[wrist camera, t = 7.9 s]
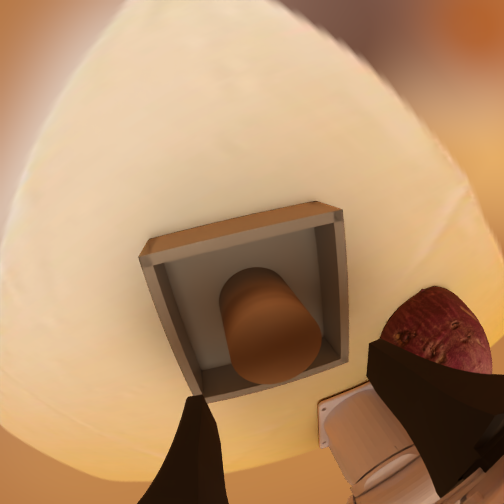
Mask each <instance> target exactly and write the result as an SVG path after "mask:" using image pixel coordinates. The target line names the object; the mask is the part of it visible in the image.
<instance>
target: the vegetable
mask: <svg viewBox="0 0 504 504" xmlns="http://www.w3.org/2000/svg"><path fill="white" fill-rule="evenodd" d="M381 339H383V340H385V341H387V342H390V343H392V344H394V345H396V346H398V347H400V348H402V349H404V350H407V351H409V352H411V353H413V354H416V355H418V356H420V357H423V358H425V359H428V360H430V361H433V362H436V363H438V364H441V365H444V366H448V367H451V368H455V369H459V370H463V371H468V372H475V373H482V374H492V358H491V351H490V347H489V342H488V340H487V337H486V334H485V332H484V329H483V327H482V326H481V324H480V323H479V321H478V319H477V318H476V316H475V315H474V314H473V313H472V311H471V310H470V309H469V308H468V307H467V306H466V304H465V303H464V302H463V301H462V300H461V299H460V298H459V297H458V296H456V295H455V294H454V293H452V292H451V291H449V290H447V289H445V288H441V287H436V286H433V287H430V288H427V289H422V290H421V291H420V292H419V293H417V294H416V295H415V296H413V297H412V298H410V299H409V300H408V301H406V302H405V303H404V304H403V305H402V306H400V307H399V308H398V309H397V311H396V312H395V313H394V314H393V315H392V317H391V318H390V319H389V321H388V322H387V324H386V326H385V327H384V329H383V332H382V335H381Z"/></svg>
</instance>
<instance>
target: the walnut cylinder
mask: <svg viewBox="0 0 504 504" xmlns="http://www.w3.org/2000/svg"><path fill="white" fill-rule="evenodd" d="M219 307H220V312H221V317H222V322H223V327H224V332H225V336H226V341H227V346H228V350H229V355H230V359H231V363H232V366H233V367H234V369H235V371H236V372H237V373H238V374H239V375H240V376H241V377H243V378H244V379H246V380H248V381H250V382H253V383H258V384H276V383H281V382H284V381H287V380H290V379H292V378H294V377H296V376H297V375H299V374H300V373H302V372H303V371H304V370H306V369H307V368H308V367H309V366H310V365H311V364H312V362H313V361H314V360H315V358H316V357H317V355H318V353H319V350H320V347H321V342H322V335H321V330H320V327H319V325H318V324H317V322H316V321H315V319H314V318H313V317H312V316H311V314H310V313H309V312H308V310H307V309H306V308H305V307H304V305H303V304H302V303H301V301H300V300H299V299H298V298H297V296H296V295H295V294H294V292H293V291H292V290H291V289H290V287H289V286H288V285H287V283H286V282H285V281H284V280H283V278H282V277H281V276H280V275H279V274H277V273H276V272H274V271H273V270H270V269H267V268H263V267H252V268H247V269H244V270H241V271H239V272H237V273H236V274H234V275H233V276H232V277H230V278H229V279H228V280H227V282H226V283H225V284H224V286H223V288H222V290H221V293H220V296H219Z"/></svg>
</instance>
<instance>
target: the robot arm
mask: <svg viewBox="0 0 504 504" xmlns="http://www.w3.org/2000/svg"><path fill="white" fill-rule="evenodd" d="M366 376H367V378H368V379H369V381H370V382H368V383H365V384H363V385H361V386H359V387H356V388H354V389H351V390H349V391H347V392H344V393H342V394H339V395H337V396H334V397H332V398H329V399H326V400H324V401H321V402H320V403H319V404H318V420H319V446H320V448H321V449H323V448H326V447H329V448H330V450H331V452H332V454H333V456H334V458H335V460H336V461H337V463H338V465H339V467H340V469H341V471H342V473H343V475H344V477H345V479H346V480H347V482H348V483H349V484H351V485H352V487H350V489H351V491H352V493H353V495H351V496H350V497H349V498H348V501H347V504H504V375H497V374H482V373H475V372H468V371H463V370H459V369H455V368H451V367H448V366H444V365H441V364H438V363H436V362H433V361H430V360H428V359H425V358H423V357H420V356H418V355H416V354H413V353H411V352H409V351H407V350H404V349H402V348H400V347H398V346H396V345H394V344H392V343H390V342H387V341H385V340H383V339H378V340H376V341H374V342H371V343H369V352H368V364H367V375H366ZM137 504H229V503H228V499H227V495H226V489H225V481H224V472H223V462H222V452H221V443H220V438H219V433H218V429H217V424H216V421H215V419H214V417H213V415H212V413H211V411H210V409H209V407H208V405H207V403H206V400H205V398H204V396H203V394H201V395H196V396H190V397H188V398H187V399H186V403H185V407H184V410H183V414H182V417H181V420H180V423H179V426H178V429H177V432H176V434H175V437H174V440H173V442H172V445H171V447H170V449H169V452H168V454H167V456H166V458H165V460H164V462H163V464H162V466H161V468H160V470H159V472H158V474H157V475H156V477H155V479H154V480H153V482H152V484H151V485H150V487H149V488H148V490H147V491H146V493H145V494H144V495H143V497H142V498H141V499H140V501H139V502H138V503H137Z"/></svg>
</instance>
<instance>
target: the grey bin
mask: <svg viewBox="0 0 504 504" xmlns="http://www.w3.org/2000/svg"><path fill="white" fill-rule="evenodd" d="M138 258H139V261H140V264H141V267H142V270H143V273H144V276H145V279H146V282H147V285H148V288H149V291H150V294H151V296H152V299H153V302H154V305H155V307H156V310H157V313H158V315H159V318H160V321H161V323H162V326H163V328H164V331H165V333H166V336H167V338H168V341H169V343H170V346H171V348H172V350H173V353H174V355H175V357H176V360H177V362H178V364H179V366H180V369H181V371H182V373H183V375H184V377H185V380H186V382H187V384H188V386H189V388H190V390H191V392H192V394H193V396H196V395H201V394H203V396H204V398H205V400H206V403H207V404H208V403H213V402H217V401H222V400H226V399H231V398H235V397H239V396H243V395H247V394H251V393H255V392H259V391H263V390H266V389H270V388H273V387H277V386H280V385H283V384H287V383H290V382H293V381H296V380H299V379H302V378H305V377H308V376H311V375H314V374H317V373H320V372H323V371H326V370H328V369H331V368H334V367H336V366H339V365H342V364H344V363H347V362H348V354H349V303H348V275H347V257H346V242H345V230H344V219H343V209H340V208H337V207H334V206H331V205H327V204H324V203H321V202H318V201H313V202H308V203H303V204H298V205H293V206H289V207H284V208H279V209H274V210H270V211H265V212H260V213H256V214H251V215H247V216H242V217H238V218H233V219H229V220H225V221H220V222H216V223H212V224H208V225H203V226H199V227H195V228H191V229H187V230H183V231H179V232H175V233H171V234H167V235H163V236H159V237H155V238H151V239H149V240H148V241H147V243H146V245H145V246H144V248H143V250H142V252H141V253H140V255H139V257H138ZM252 267H263V268H267V269H270V270H273V271H274V272H276V273H277V274H279V275H280V276H281V277H282V278H283V280H284V281H285V282H286V283H287V285H288V286H289V287H290V289H291V290H292V291H293V292H294V294H295V295H296V296H297V298H298V299H299V300H300V301H301V303H302V304H303V305H304V307H305V308H306V309H307V310H308V312H309V313H310V314H311V316H312V317H313V318H314V319H315V321H316V322H317V324H318V325H319V327H320V330H321V335H322V342H321V347H320V350H319V353H318V355H317V357H316V358H315V360H314V361H313V362H312V364H311V365H310V366H309V367H308V368H307V369H306V370H304V371H303V372H302V373H300V374H299V375H297V376H296V377H294V378H292V379H290V380H287V381H284V382H281V383H276V384H258V383H253V382H250V381H248V380H246V379H244V378H243V377H241V376H240V375H239V374H238V373H237V372H236V371H235V369H234V367H233V366H232V363H231V359H230V355H229V350H228V346H227V341H226V336H225V332H224V327H223V322H222V317H221V312H220V307H219V296H220V293H221V290H222V288H223V286H224V284H225V283H226V282H227V280H228V279H229V278H230V277H232V276H233V275H234V274H236V273H237V272H239V271H241V270H244V269H247V268H252Z"/></svg>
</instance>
